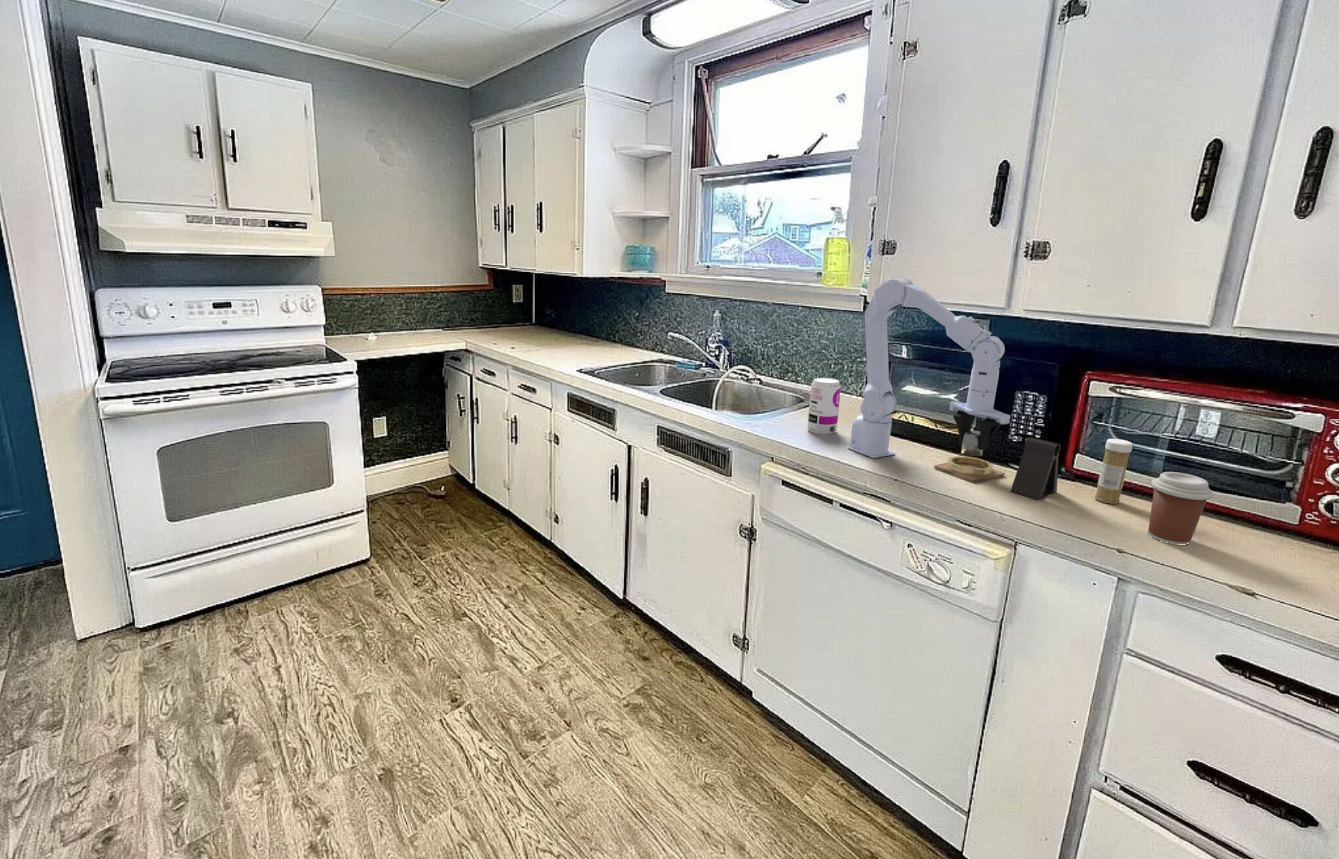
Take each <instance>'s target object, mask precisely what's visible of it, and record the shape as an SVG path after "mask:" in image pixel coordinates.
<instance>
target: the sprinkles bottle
mask: <svg viewBox="0 0 1339 859" xmlns="http://www.w3.org/2000/svg"><path fill="white" fill-rule="evenodd" d="M1133 445H1134V444H1133V443H1132V442H1131V441H1128V440H1125V439H1120V438H1108V439H1107V440H1106V442H1105V449H1104V450H1105V451H1104V457H1103V460H1102V464H1101V466H1100V467H1101V469H1100V471H1099V472H1100V473H1099V476H1098V477H1099V478H1098V481H1097V487H1096V491H1095V492H1096V493H1095V495H1094V499H1095V500H1096V501H1098V502H1101V503H1103V502H1105V503H1104V504H1108V503H1109V505H1117V504H1119V503H1120V501H1121V500H1120V498H1121V493H1122V489H1123V486H1124V482H1125V478H1126V471H1127V468H1128V462H1129V459H1130V454H1131V452H1132V451H1133Z"/></svg>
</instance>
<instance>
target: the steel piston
mask: <svg viewBox="0 0 1339 859" xmlns="http://www.w3.org/2000/svg"><path fill="white" fill-rule="evenodd" d="M979 440H980V430H979V431H978V430H973V429H971V430H966V431H964V437H963V443H962V444H961V451H960V454H963V455H964V456H965V455H966V456H968V457H982V456H983V451H984V450H980V449H979Z"/></svg>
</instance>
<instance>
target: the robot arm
mask: <svg viewBox="0 0 1339 859" xmlns="http://www.w3.org/2000/svg"><path fill="white" fill-rule="evenodd" d="M900 307H908V308H909V307H913V308H918V309H919V310H921V311H922V312H923V313H925V314H926V315H928V316H930V318H932V319H934V320H935V321H936V322H938V323H939V324H940V325H942V326H944V327H945V331H946V336H948V338H949V339H952V340H953V342H955V344H958V345H959V346H960V347H961V348H963V349H964V350H965V351H967V352H968V353H971V356H972V357H971V358H972V359H973V364H972V369H971V373H970V380H969V385H968V392H967V398H966V402H960V401H956V400H955V401H950V402H949V408H948V410H949V411H956V413H954V414H953V416H952V417H953V419H954V421H955V423H956V427H957V430H958V431H957V432H958V437H959V444H961V445H962V443H963V437H964V431H966V430H972V427H973V425H974V424H973V423H974V420H975V418H976V417H977V418H982V419H983V420H979V421H978V423H979V431H980V440H979V449H980V450H983V451H984V450H987V449H988V448H989V445H990V442H991V441H992V439H993V437H994V435H995V434H996V432H997V431H998V430H999V428H1001V427H1002V425H1008V424H1010V419H1011V414H1007V413H1004V412H1002V411H999V410H996V409H994V407H995V406H994V405H995V400H996V393H997V389H998V388H997V387H998V382H999V378H1000V377H999V375H1000V367H1001V360H1000V359H1001V358H1002V357H1003V356H1004V354H1005V350H1006V348H1005V344H1004V343H1003V341H1002V340H1001V339H1000V337H998V336H994V335H992V332H990V330H987V331H986V330H984V329H983V328H982V327H981V326H979V325H978V324H976V323H975V321H976V320H975V318H973V317H972V316H969V317H967V316H966V315H957V316H956V315H955V314H954V313H953V312H952V311H950V310H949V309H948V308H947V307H946V306H944V305H943V304H941V302H939V301H938V299H936V298H935V297H934V296H933V295H931V294H930V293H929V292H927V291H926V290H925V289H924V288H923V287H921V286H920V285H918V284H914V282H912V280H910V279H908V278H906V277H905V278H903V277H901V278H898V279H895V278H893V279H892V278H889V279H887V280H885V281H883V282H881V283H880V284H879V286H877V287H876V288H875V289H874V292H873V296H872V298H871V299H870V301H869V304H868V305H867V307H866V309H865V311H864V321H865V322H864V325H865V326H864V328H865V330H864V331H865V350H866V352H865V353H866V354H865V355H866V376H867V377H866V379H867V381H866V382H867V383H866V385H865V389H864V391H863V400H862V402H861V405H860V412H861V415H858V416H857V417H856V418H854V420H853V423H852V425H851V433H850V434H851V435H850V436H851V437H850V443H849V446H847V449H850V450H852V451H854V452H857V453H859V454H862V455H865V456H867V457H870V458H871V459H876V458H882V457H887V456H894V455H896V452H895V451H893V450H890V449H889V446H890V440H891V433H892V422H893V418H892V414H893V413H894V411H895V410H896V407H897V403H898V402H897V398H896V397H895V395H894V392H893V386H892V383H891V381H890V374H889V373H890V372H889V371H890V370H889V343H888V340H889V339H888V336H889V335H888V318H889V317H890V316H891V315H892V314H894V313H895V311H896V310H897V309H899V308H900ZM991 335H992V336H991Z"/></svg>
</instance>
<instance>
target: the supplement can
mask: <svg viewBox="0 0 1339 859" xmlns="http://www.w3.org/2000/svg"><path fill="white" fill-rule="evenodd" d="M810 385H811V386H810V396H809V398H810V399H809V408H808V410H809V411H808V416H807V418H808V419H807V429H808V430H809V432H810V433H812V434H816V435H822V436H823V435H824V436H828V435H833V434H835V433H836V432H837V431H838V430H837V429H838V420H839V411H840V398H841V392H842V391H841V390H842V385H841V384H840V380H838V379H836V378H829V377H816V378H814V379H813V381H812V382H811V384H810Z"/></svg>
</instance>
